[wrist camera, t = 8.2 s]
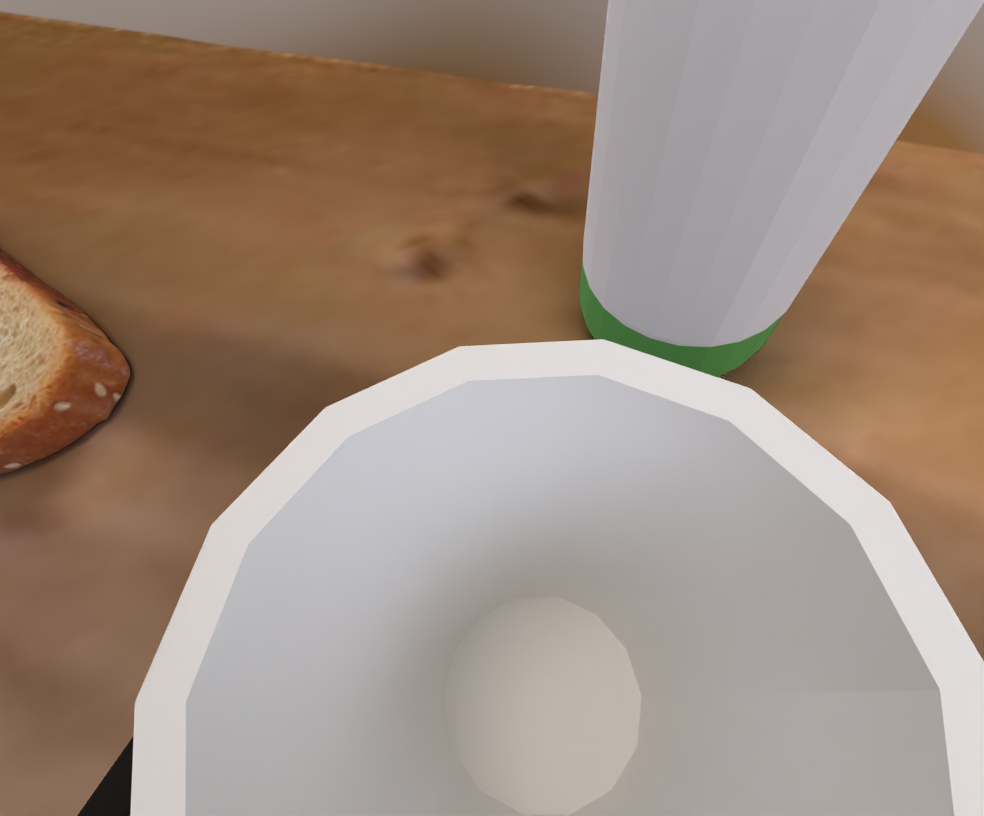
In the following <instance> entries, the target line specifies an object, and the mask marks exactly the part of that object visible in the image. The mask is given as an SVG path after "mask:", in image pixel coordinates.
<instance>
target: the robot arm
mask: <svg viewBox="0 0 984 816" xmlns="http://www.w3.org/2000/svg"><path fill="white" fill-rule="evenodd" d="M133 738H134V736H133ZM133 738H132V739H131V740H130V742H129V743H128V745H127V746H126V747H125V749H124V750H123V752H122V753H121V755H120V756H119V757H118V759H117V760H116V762H115V763H114V765H113V766H112V767H111V769H110V770H109V772H108V773H107V774H106V776H105V777H104V779H103V780H102V782H101V783H100V784H99V786H98V787H97V789H96V790H95V791H94V793H93V794H92V796H91V797H90V799H89V800H88V801H87V803H86V804H85V806H84V807H83V809H82V810H81V811H80V813H79V814H78V816H130V811H131V787H132V763H133Z"/></svg>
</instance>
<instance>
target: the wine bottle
mask: <svg viewBox="0 0 984 816" xmlns="http://www.w3.org/2000/svg"><path fill="white" fill-rule="evenodd" d="M983 3H984V0H609V1H608V10H607V19H606V30H605V38H604V49H603V58H602V68H601V77H600V87H599V96H598V106H597V115H596V125H595V135H594V144H593V154H592V164H591V173H590V183H589V192H588V202H587V212H586V221H585V231H584V241H583V258H582V267H581V277H580V306H581V309H582V313H583V316H584V319H585V323H586V326H587V328H588V330H589V332H590V333H591V335H592V336H593V338H594V339H595V340H598V339H604V340H607V341H610V342H613V343H616V344H619V345H622V346H625V347H628V348H631V349H634V350H637V351H640V352H643V353H646V354H649V355H652V356H655V357H658V358H661V359H664V360H667V361H670V362H673V363H676V364H679V365H682V366H685V367H688V368H691V369H694V370H697V371H700V372H703V373H706V374H709V375H712V376H715V377H718V376H720V375H722V374H725V373H727V372H729V371H731V370H733V369H735V368H738V367H739V366H741V365H742V364H743V363H744V362H746V361H747V360H748V359H749V358H750V357H751V356H752V355H754V354H755V353H756V352H757V351H758V350H759V349H761V348H762V346H763V345H764V344H765V343H766V341H767V339H768V338H769V336H770V335H771V333H772V332H773V330H774V328H775V327H776V325H777V324H778V322H779V321H780V319H781V317H782V316H783V314H784V313H785V312H786V311H787V310H788V308H789V307H790V305H791V303H792V302H793V300H794V299H795V297H796V296H797V294H798V293H799V291H800V289H801V288H802V286H803V285H804V283H805V282H806V280H807V278H808V277H809V275H810V274H811V272H812V271H813V269H814V267H815V266H816V264H817V263H818V261H819V260H820V258H821V257H822V255H823V253H824V252H825V250H826V249H827V247H828V246H829V244H830V242H831V241H832V239H833V238H834V236H835V235H836V233H837V231H838V230H839V228H840V227H841V225H842V224H843V222H844V220H845V219H846V217H847V216H848V214H849V213H850V211H851V210H852V208H853V206H854V205H855V203H856V202H857V200H858V199H859V197H860V195H861V194H862V192H863V191H864V189H865V188H866V186H867V184H868V183H869V181H870V180H871V178H872V177H873V175H874V173H875V172H876V170H877V169H878V167H879V166H880V164H881V163H882V161H883V159H884V158H885V156H886V155H887V153H888V152H889V150H890V148H891V147H892V145H893V144H894V142H895V141H896V139H897V137H898V136H899V134H900V133H901V131H902V130H903V128H904V126H905V125H906V123H907V122H908V120H909V119H910V117H911V116H912V114H913V112H914V111H915V109H916V108H917V106H918V105H919V103H920V101H921V100H922V98H923V96H924V95H925V94H926V92H927V90H928V89H929V87H930V86H931V84H932V83H933V81H934V79H935V78H936V76H937V75H938V73H939V72H940V70H941V69H942V67H943V65H944V64H945V62H946V61H947V59H948V58H949V56H950V54H951V53H952V51H953V49H954V48H955V47H956V45H957V43H958V42H959V40H960V39H961V37H962V36H963V34H964V33H965V31H966V29H967V28H968V26H969V25H970V23H971V21H972V20H973V18H974V17H975V15H976V14H977V12H978V11H979V9H980V7H981V6H982V4H983Z"/></svg>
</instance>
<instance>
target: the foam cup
mask: <svg viewBox="0 0 984 816" xmlns="http://www.w3.org/2000/svg"><path fill="white" fill-rule="evenodd" d="M130 816H984V661H983V660H982V658H981V656H980V654H979V653H978V651H977V649H976V648H975V646H974V644H973V643H972V641H971V639H970V637H969V636H968V634H967V632H966V631H965V629H964V627H963V626H962V624H961V622H960V620H959V619H958V617H957V615H956V614H955V612H954V610H953V608H952V607H951V605H950V603H949V602H948V600H947V598H946V597H945V595H944V593H943V591H942V590H941V588H940V586H939V585H938V583H937V581H936V579H935V578H934V576H933V574H932V573H931V571H930V569H929V568H928V566H927V564H926V562H925V561H924V559H923V557H922V556H921V554H920V552H919V551H918V549H917V547H916V545H915V544H914V542H913V540H912V539H911V537H910V535H909V533H908V532H907V530H906V528H905V527H904V525H903V523H902V522H901V520H900V518H899V516H898V515H897V513H896V511H895V510H894V508H893V506H892V505H891V503H890V502H889V501H888V500H887V499H886V498H884V497H883V496H882V495H881V494H880V493H878V492H877V491H876V490H875V489H873V488H872V487H871V486H870V485H869V484H867V483H866V482H865V481H864V480H862V479H861V478H860V477H859V476H857V475H856V474H855V473H854V472H853V471H851V470H850V469H849V468H848V467H846V466H845V465H844V464H843V463H842V462H840V461H839V460H838V459H837V458H835V457H834V456H833V455H832V454H830V453H829V452H828V451H827V450H826V449H824V448H823V447H822V446H821V445H819V444H818V443H817V442H816V441H815V440H813V439H812V438H811V437H810V436H808V435H807V434H806V433H805V432H803V431H802V430H801V429H800V428H799V427H797V426H796V425H795V424H794V423H792V422H791V421H790V420H789V419H788V418H786V417H785V416H784V415H783V414H781V413H780V412H779V411H778V410H776V409H775V408H774V407H773V406H772V405H770V404H769V403H768V402H767V401H765V400H764V399H763V398H762V397H761V396H759V395H758V394H757V393H756V392H754V391H753V390H752V389H751V388H748V387H745V386H742V385H739V384H736V383H733V382H730V381H727V380H724V379H721V378H718V377H715V376H712V375H709V374H706V373H703V372H700V371H697V370H694V369H691V368H688V367H685V366H682V365H679V364H676V363H673V362H670V361H667V360H664V359H661V358H658V357H655V356H652V355H649V354H646V353H643V352H640V351H637V350H634V349H631V348H628V347H625V346H622V345H619V344H616V343H613V342H610V341H607V340H604V339H598V340H578V341H558V342H538V343H518V344H498V345H478V346H459V347H457V348H455V349H452V350H450V351H448V352H446V353H444V354H441V355H439V356H437V357H435V358H433V359H430V360H428V361H426V362H424V363H422V364H419V365H417V366H415V367H413V368H411V369H409V370H406V371H404V372H402V373H400V374H398V375H395V376H393V377H391V378H389V379H387V380H384V381H382V382H380V383H378V384H376V385H373V386H371V387H369V388H367V389H365V390H362V391H360V392H358V393H356V394H354V395H352V396H349V397H347V398H345V399H343V400H341V401H338V402H336V403H334V404H332V405H330V406H327V407H325V408H324V409H323V410H322V411H321V412H320V413H319V414H318V415H317V417H316V418H315V419H314V420H313V421H312V422H311V423H310V424H309V425H308V426H307V427H306V428H305V429H304V430H303V431H302V432H301V433H300V434H299V435H298V436H297V437H296V438H295V439H294V440H293V441H292V442H291V443H290V444H289V445H288V446H287V447H286V448H285V449H284V451H283V452H282V453H281V454H280V455H279V456H278V457H277V458H276V459H275V460H274V461H273V462H272V463H271V464H270V465H269V466H268V467H267V468H266V469H265V470H264V471H263V472H262V473H261V474H260V475H259V476H258V477H257V478H256V479H255V480H254V481H253V482H252V484H251V485H250V486H249V487H248V488H247V489H246V490H245V491H244V492H243V493H242V494H241V495H240V496H239V497H238V498H237V499H236V500H235V501H234V502H233V503H232V504H231V505H230V506H229V507H228V508H227V509H226V510H225V511H224V512H223V513H222V514H221V515H220V516H219V518H218V519H217V520H216V521H215V522H214V523H213V524H212V525H211V527H210V529H209V532H208V534H207V536H206V539H205V541H204V543H203V546H202V548H201V550H200V553H199V555H198V557H197V560H196V562H195V564H194V567H193V569H192V571H191V574H190V576H189V578H188V580H187V583H186V585H185V587H184V590H183V592H182V594H181V597H180V599H179V601H178V604H177V606H176V608H175V611H174V613H173V615H172V618H171V620H170V622H169V625H168V627H167V629H166V632H165V634H164V636H163V638H162V641H161V643H160V645H159V648H158V650H157V652H156V655H155V657H154V659H153V662H152V664H151V666H150V669H149V671H148V673H147V676H146V678H145V680H144V683H143V685H142V687H141V689H140V692H139V694H138V696H137V699H136V701H135V714H134V738H133V763H132V787H131V811H130Z"/></svg>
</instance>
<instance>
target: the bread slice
mask: <svg viewBox="0 0 984 816" xmlns="http://www.w3.org/2000/svg"><path fill="white" fill-rule="evenodd" d="M129 377H130V368H129V366H128V364H127V362H126V360H125V358H124V356H123V354H122V353H121V351H120V350H119V349H118V348H117V347H115V346H114V345H113V344H112V343H110V342H109V340H108V338H107V337H106V336H105V334H104V333H103V332H102V331H101V330H100V329H99V328H98V327H97V326H96V325H95V324H94V323H93V322H92V321H91V320H90V318H89V317H88V316H87V315H86V314H85V313H83V312H82V311H81V310H80V309H78V308H77V307H76V306H75V305H74V304H72V303H71V302H70V301H69V300H68V299H66V298H65V297H64V296H63V295H61V294H60V293H59V292H58V291H56V290H55V289H53V288H51V287H49V286H47V285H46V284H44V283H43V282H42V281H41V280H39V279H38V278H37V277H35V276H34V275H33V274H32V273H30V272H29V271H28V270H27V269H26V268H24V267H23V266H22V265H20V264H19V263H18V262H16V261H15V260H14V259H12V258H11V257H10V256H8V255H7V254H6V253H4V252H3V251H2V250H1V249H0V474H2V473H7V472H11V471H16V470H17V469H19V468H21V467H23V466H25V465H28V464H30V463H32V462H35V461H37V460H40V459H43V458H45V457H48V456H50V455H51V454H53V453H55V452H57V451H59V450H60V449H62V448H64V447H66V446H68V445H69V444H71V443H73V442H74V441H76V440H77V439H79V438H80V437H82V436H83V435H84V434H85V433H87V432H88V431H89V430H90V429H91V428H92V427H93V426H95V425H96V424H98V423H99V422H101V421H104V420H106V419H108V417H109V415H110V413H111V411H112V410H113V408H114V407H115V405H116V404H117V402H118V401H119V400H120V398H121V396H122V394H123V392H124V390H125V387H126V386H127V384H128V380H129Z"/></svg>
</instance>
